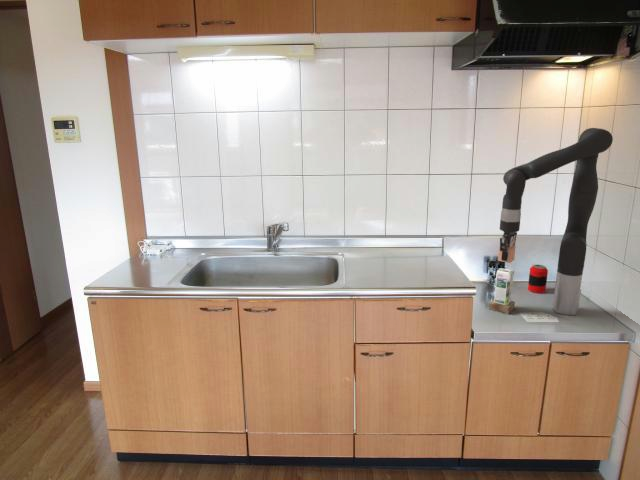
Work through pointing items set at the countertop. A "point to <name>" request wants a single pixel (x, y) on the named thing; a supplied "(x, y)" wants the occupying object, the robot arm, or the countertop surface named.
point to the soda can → (537, 279)
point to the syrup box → (503, 286)
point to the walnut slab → (501, 307)
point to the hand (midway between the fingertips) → (506, 258)
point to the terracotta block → (510, 254)
